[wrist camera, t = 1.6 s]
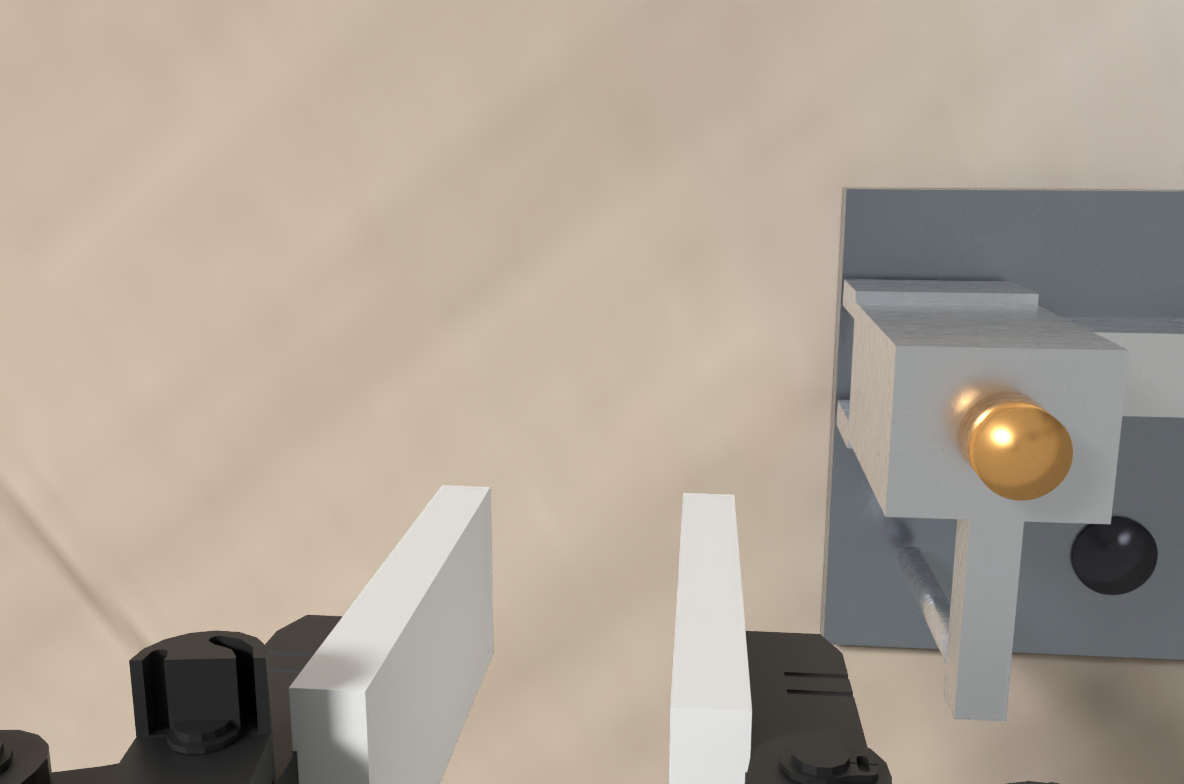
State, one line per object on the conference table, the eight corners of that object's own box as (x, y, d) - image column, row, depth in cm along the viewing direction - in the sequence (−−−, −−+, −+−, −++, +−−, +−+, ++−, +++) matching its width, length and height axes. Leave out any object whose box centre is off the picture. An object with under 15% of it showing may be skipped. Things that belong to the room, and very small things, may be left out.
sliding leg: (1012, 281, 34) (1160, 350, 23) (987, 571, 36) (1112, 761, 25) (844, 279, 35) (909, 344, 24) (829, 565, 37) (883, 749, 26)
